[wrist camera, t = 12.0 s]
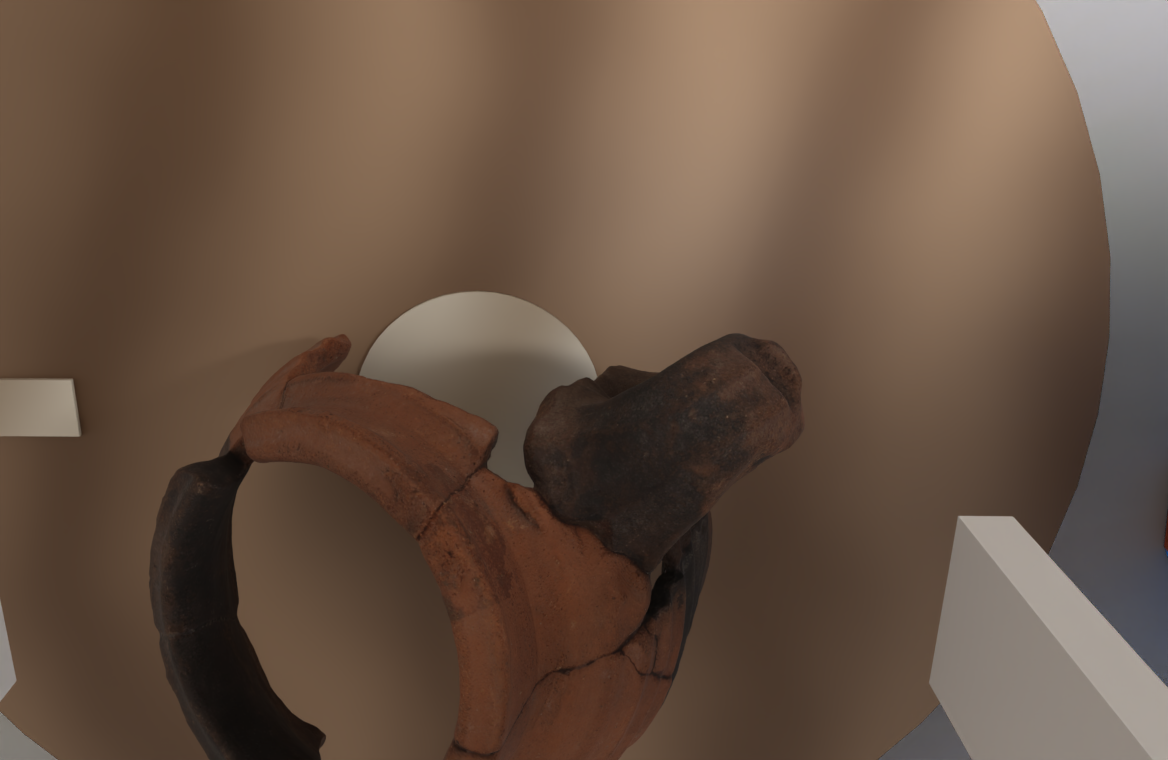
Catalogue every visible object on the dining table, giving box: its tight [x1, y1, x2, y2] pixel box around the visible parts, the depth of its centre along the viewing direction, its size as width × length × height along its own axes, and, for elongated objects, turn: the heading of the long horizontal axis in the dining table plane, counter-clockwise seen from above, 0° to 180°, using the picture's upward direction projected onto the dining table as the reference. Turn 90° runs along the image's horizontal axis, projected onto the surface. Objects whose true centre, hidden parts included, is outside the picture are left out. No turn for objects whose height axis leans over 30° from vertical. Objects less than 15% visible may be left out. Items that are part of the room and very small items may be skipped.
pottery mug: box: [149, 333, 805, 760], centre depth 19 cm, size 12×10×8 cm
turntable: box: [0, 0, 1110, 760], centre depth 21 cm, size 26×26×1 cm
